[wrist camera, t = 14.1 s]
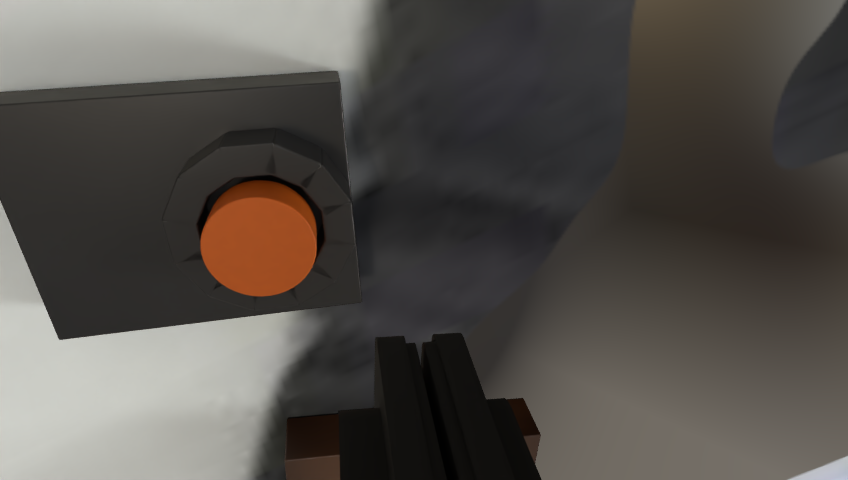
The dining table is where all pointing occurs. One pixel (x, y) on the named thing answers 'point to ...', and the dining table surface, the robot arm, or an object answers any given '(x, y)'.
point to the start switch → (259, 238)
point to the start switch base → (169, 193)
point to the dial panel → (319, 443)
